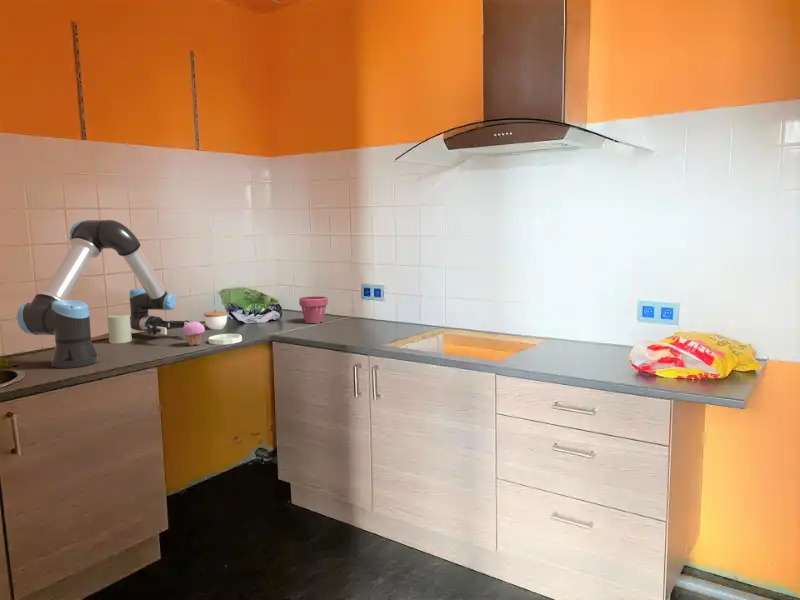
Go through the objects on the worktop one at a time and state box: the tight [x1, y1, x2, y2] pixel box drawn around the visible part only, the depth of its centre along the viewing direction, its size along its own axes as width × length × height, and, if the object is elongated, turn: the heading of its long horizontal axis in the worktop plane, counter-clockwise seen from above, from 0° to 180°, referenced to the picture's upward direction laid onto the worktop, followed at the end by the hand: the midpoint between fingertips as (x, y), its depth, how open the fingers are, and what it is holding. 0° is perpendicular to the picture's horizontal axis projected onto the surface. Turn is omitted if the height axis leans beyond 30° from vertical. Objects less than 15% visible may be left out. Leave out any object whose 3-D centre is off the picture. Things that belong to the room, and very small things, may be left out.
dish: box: [208, 333, 243, 346], centre depth 260 cm, size 14×14×2 cm
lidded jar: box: [203, 309, 228, 331], centre depth 292 cm, size 11×11×9 cm
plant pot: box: [298, 295, 329, 324], centre depth 305 cm, size 14×14×13 cm
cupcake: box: [182, 321, 206, 347], centre depth 253 cm, size 9×9×10 cm
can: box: [106, 313, 133, 345], centre depth 263 cm, size 9×9×12 cm
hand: (180, 328), depth 259 cm, fingers open, 13 cm apart
